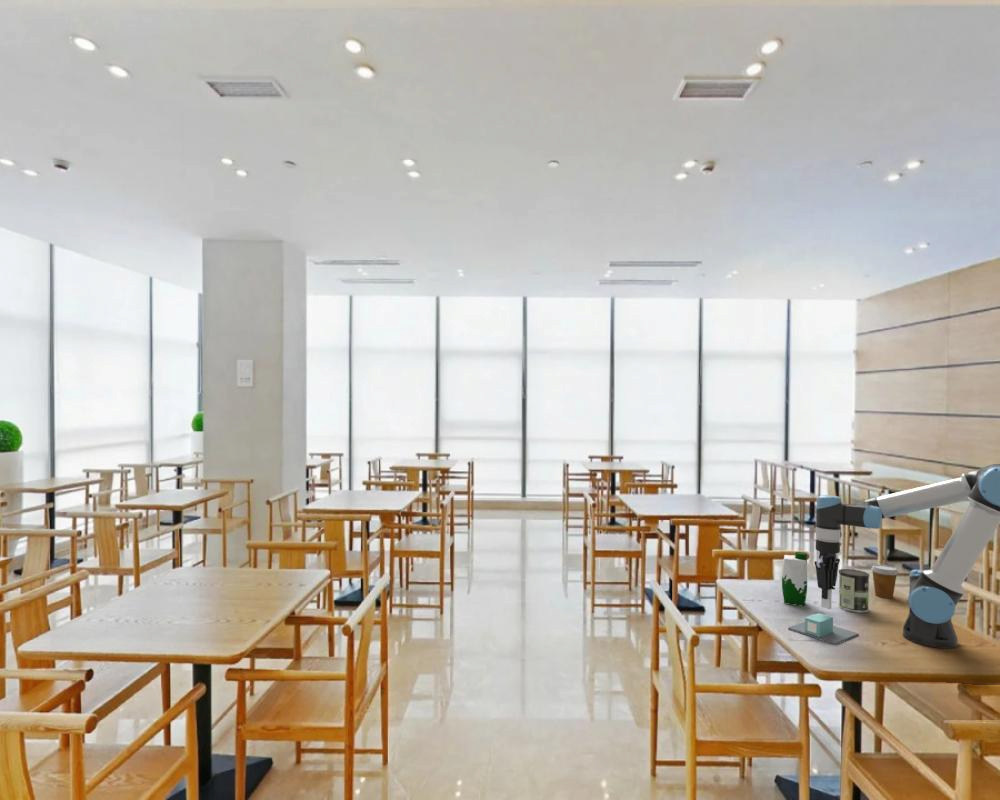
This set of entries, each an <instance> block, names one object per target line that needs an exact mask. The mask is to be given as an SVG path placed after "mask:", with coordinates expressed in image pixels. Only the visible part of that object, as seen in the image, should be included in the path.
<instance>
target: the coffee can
mask: <svg viewBox="0 0 1000 800" xmlns="http://www.w3.org/2000/svg"><path fill="white" fill-rule="evenodd" d="M838 573H839V574H838V607H839V608H840V609H841V610H844V609H845V611H848V612H852V613H860V614H861V613H868V612H869V611H870V609H869V592H870V591H869V587H870V586H869V585H870V582H869V581H870V578H869V577H870V574H869V573H868V572H865V571H863V570H858V569H852V568H840V569H838Z"/></svg>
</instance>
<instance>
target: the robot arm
mask: <svg viewBox="0 0 1000 800" xmlns="http://www.w3.org/2000/svg"><path fill="white" fill-rule="evenodd" d="M966 501H968V502H969V505H968V506H967V508H966V510H965V512H964V514H963V515H962V517H961V519H960V520H959V522H958V524H957V525H956V527H955V528H954V530H953V532H952V534H951V535H950V537H949V538H948V540H947V542H946V543H945V545H944V547H943V548H942V550H941V552H940V554H939V555H938V557H937V559H936V560H935V561H934V564H933V565H932V567H931V568H930V569H912V570H910V572H909V576H908V578H909V593H908V598H907V602H908V606H909V607H908V608H909V609H908V610H909V611H908V615H907V618H906V620H905V622H904V625H903V627H902V636H903V637H904V638H906V639H907V640H909V641H911V640H912V641H911V642H913V641H914V642H913V643H917V644H919V643H920V645H923V646H927V647H933V648H940V649H954V648H957V647H958V645H959V643H958V642H959V640H958V636H957V633H956V629H955V627H954V625H953V622H952V617H954V616H955V612H956V606H957V605H958V604H959V601H960V600H961V598H962V597H963V595H964V593H965V591H964V588H963V584H964V582H965V580H966V579H967V577H968V576H969V574H970V572H971V571H972V570H973V567H974V566H975V564H976V563H977V561H978V559H979V557H980V556H981V555H982V553H983V551H984V550H985V548H986V546H987V545H988V543H989V542H990V540H991V538H992V537H993V536H994V534H995V533H996V530H997V529H998V527H999V526H1000V463H994V464H989V465H987V466H983V467H980V468H978V469H974V470H971V471H969V472H964V473H962V474H961V475H960V477H957V478H952V479H947V480H944V481H940V482H936V483H931V484H928V485H922V486H919V487H915V488H909V489H906V490H902V491H901V490H900V491H898V492H893V493H888V494H884V495H880V496H877V497H871V498H868V499H864V498H863V499H860V500H857V501H856V502H854V503H846V502H842V497H840V496H836V495H831V494H830V495H829V494H821V495H818V496H817V499H816V507H815V511H816V512H815V513H816V514H815V524H816V525H815V526H816V527H815V530H814V531H815V538H816V540H815V550H816V551H818V552H819V553H818V561H817V560H814V566H815V573H816V581H817V587H818V588H819V589H821V596H820V597H821V601H820V606H821V608H825V609H827V610H831V609H832V597H833V596H832V594H833V593H832V590H834V591H835V590H836V584H837V578H838V572H839V566H840V565H839V564H840V561H841V559H840V558H837V554H839V553H840V552H841V542H840V541H841V525H842V526H852V527H859V528H865V529H870V530H871V529H874V530H878V529H881V528H882V524H883V523H882V521H883V519H886V518H891V517H895V516H901V515H905V514H911V513H914V512H919V511H924V510H929V509H933V508H938V507H943V506H947V505H952V504H956V503H957V504H958V503H962V502H966Z"/></svg>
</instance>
